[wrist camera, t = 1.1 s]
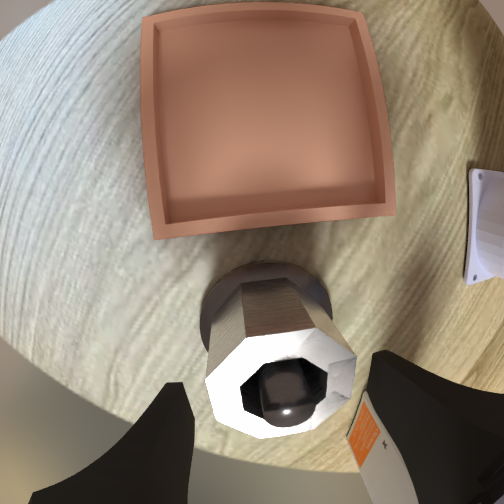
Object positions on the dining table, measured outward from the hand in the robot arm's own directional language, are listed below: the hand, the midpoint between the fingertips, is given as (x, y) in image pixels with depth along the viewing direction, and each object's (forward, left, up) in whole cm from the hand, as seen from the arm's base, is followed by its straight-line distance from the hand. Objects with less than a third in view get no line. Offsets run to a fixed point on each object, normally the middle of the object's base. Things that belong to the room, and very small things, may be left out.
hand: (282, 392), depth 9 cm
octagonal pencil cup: (0, 0, -5) cm, 5 cm away
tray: (-1, -11, -5) cm, 12 cm away
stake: (0, 0, -5) cm, 5 cm away
